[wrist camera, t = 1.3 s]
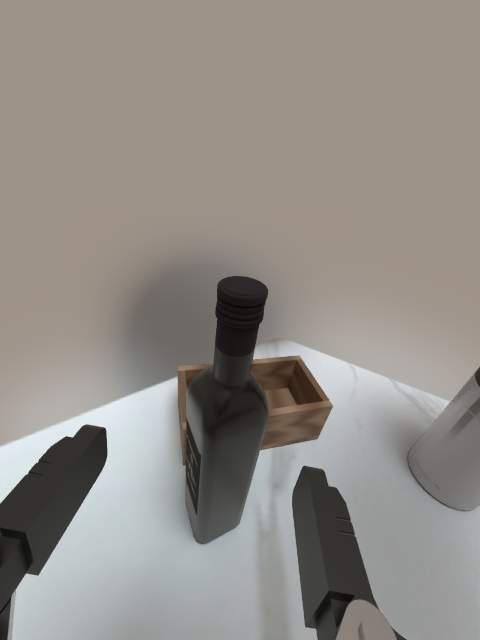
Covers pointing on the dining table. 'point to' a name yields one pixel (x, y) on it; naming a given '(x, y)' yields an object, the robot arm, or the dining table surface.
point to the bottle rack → (275, 400)
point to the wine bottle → (226, 414)
